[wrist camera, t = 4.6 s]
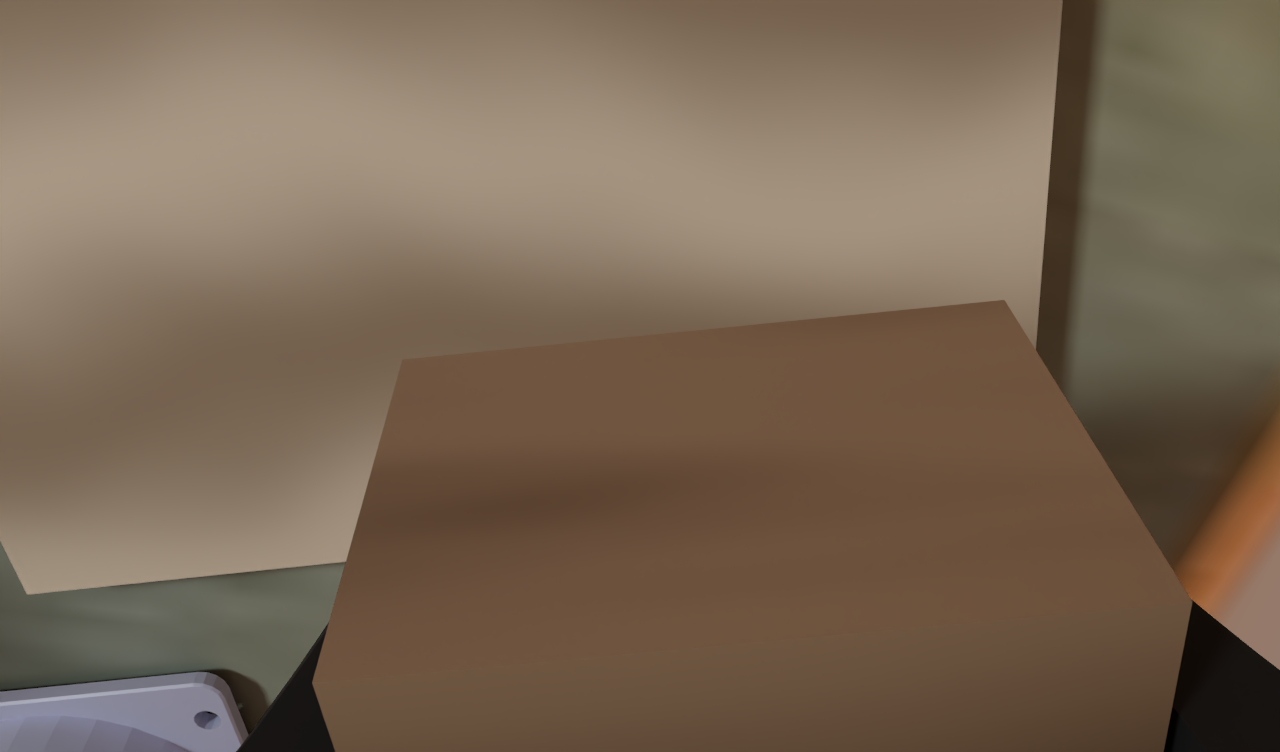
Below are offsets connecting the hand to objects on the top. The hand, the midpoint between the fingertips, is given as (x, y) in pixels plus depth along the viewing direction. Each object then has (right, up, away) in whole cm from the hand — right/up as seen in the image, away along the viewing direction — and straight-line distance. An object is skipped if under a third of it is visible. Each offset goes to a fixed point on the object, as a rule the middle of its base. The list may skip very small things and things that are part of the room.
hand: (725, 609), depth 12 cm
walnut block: (0, 0, +1) cm, 1 cm away
